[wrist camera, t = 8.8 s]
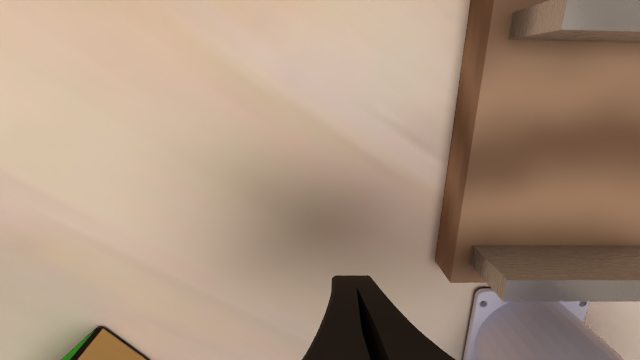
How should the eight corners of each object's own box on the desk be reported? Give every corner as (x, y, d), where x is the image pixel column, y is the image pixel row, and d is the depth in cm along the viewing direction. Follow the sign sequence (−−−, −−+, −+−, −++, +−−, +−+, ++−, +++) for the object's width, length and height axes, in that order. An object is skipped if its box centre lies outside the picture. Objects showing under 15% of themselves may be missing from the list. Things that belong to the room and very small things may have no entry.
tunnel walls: (650, 263, 20) (718, 300, 17) (469, 263, 20) (503, 301, 16) (736, 18, 16) (849, 2, 13) (513, 12, 16) (569, -6, 12)
